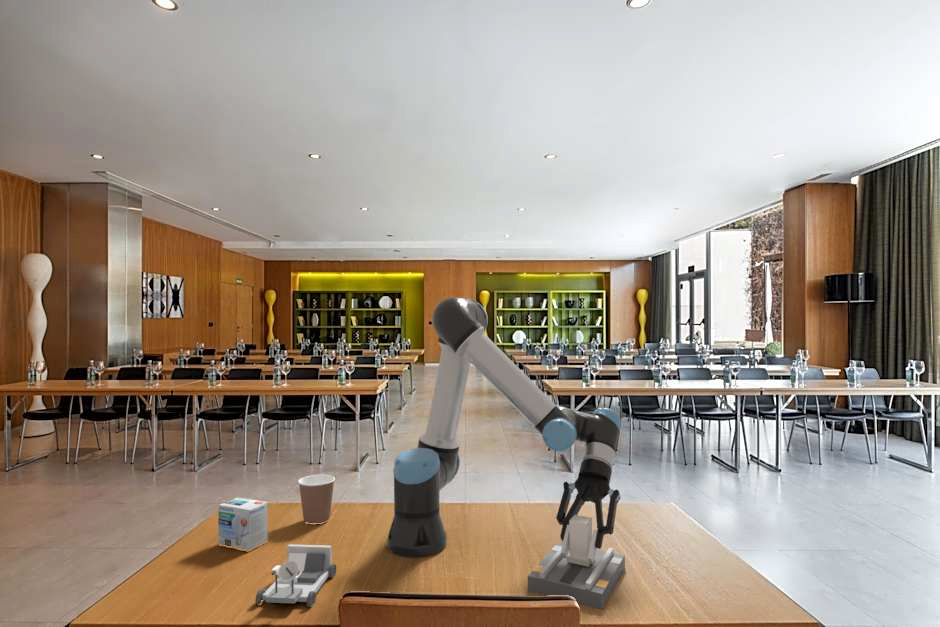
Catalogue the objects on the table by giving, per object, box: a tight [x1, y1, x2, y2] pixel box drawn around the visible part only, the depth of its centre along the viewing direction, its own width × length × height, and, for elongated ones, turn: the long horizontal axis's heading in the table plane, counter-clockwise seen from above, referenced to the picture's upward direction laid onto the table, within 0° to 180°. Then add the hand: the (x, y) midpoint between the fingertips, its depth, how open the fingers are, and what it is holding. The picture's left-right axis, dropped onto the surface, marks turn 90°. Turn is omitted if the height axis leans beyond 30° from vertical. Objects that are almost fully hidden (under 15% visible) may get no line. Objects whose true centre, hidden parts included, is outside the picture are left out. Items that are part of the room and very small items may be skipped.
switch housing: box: [527, 541, 626, 610], centre depth 119 cm, size 16×20×4 cm
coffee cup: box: [297, 474, 336, 523], centre depth 155 cm, size 10×10×12 cm
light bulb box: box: [217, 497, 269, 550], centre depth 139 cm, size 11×7×11 cm, turn 68°
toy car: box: [254, 543, 337, 608], centre depth 114 cm, size 18×10×12 cm
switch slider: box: [567, 514, 593, 567], centre depth 121 cm, size 5×5×9 cm
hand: (577, 558), depth 118 cm, fingers open, 5 cm apart
